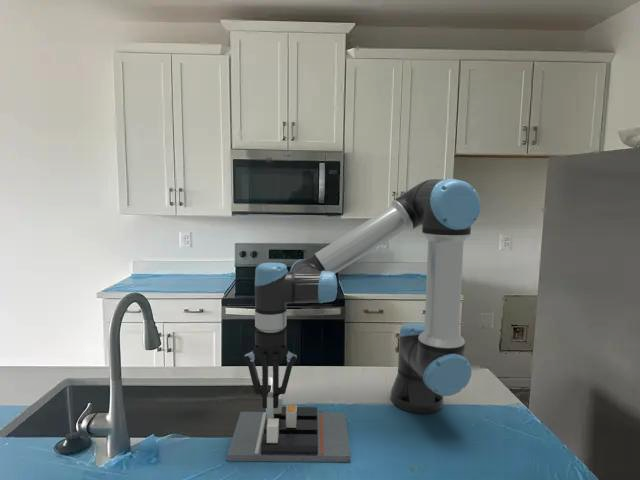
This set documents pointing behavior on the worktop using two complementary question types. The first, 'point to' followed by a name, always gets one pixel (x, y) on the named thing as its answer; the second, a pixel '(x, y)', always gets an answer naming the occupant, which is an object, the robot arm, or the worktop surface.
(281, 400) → the handle
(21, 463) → the worktop surface
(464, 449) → the worktop surface
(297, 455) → the panel
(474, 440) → the worktop surface
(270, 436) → the handle
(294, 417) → the handle
